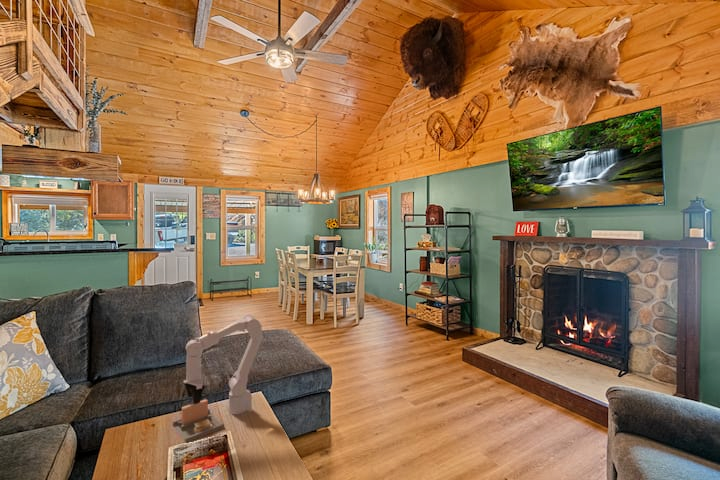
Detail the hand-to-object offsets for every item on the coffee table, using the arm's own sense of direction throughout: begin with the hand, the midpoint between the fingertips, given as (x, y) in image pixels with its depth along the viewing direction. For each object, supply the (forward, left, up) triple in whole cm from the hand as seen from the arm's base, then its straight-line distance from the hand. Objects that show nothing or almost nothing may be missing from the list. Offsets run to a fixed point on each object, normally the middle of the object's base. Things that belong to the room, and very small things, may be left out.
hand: (194, 399), depth 146 cm
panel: (0, +1, -9) cm, 9 cm away
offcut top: (0, +9, -8) cm, 12 cm away
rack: (0, +5, -10) cm, 12 cm away
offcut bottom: (0, +10, -9) cm, 13 cm away
